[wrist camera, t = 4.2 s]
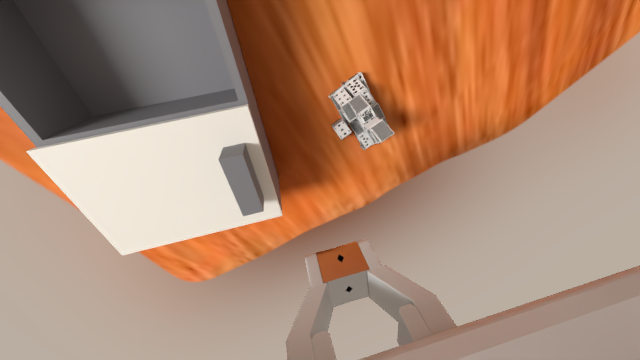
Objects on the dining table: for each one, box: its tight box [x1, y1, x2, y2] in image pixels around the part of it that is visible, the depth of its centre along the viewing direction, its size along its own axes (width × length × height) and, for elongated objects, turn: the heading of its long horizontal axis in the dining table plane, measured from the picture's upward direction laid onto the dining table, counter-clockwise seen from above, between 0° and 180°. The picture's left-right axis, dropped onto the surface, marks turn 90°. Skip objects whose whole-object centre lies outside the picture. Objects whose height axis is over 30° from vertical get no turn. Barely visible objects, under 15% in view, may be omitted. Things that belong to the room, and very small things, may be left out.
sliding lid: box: [26, 104, 282, 255], centre depth 18 cm, size 14×10×2 cm
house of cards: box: [328, 72, 395, 150], centre depth 22 cm, size 9×9×8 cm
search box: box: [0, 0, 282, 210], centre depth 19 cm, size 14×20×6 cm
